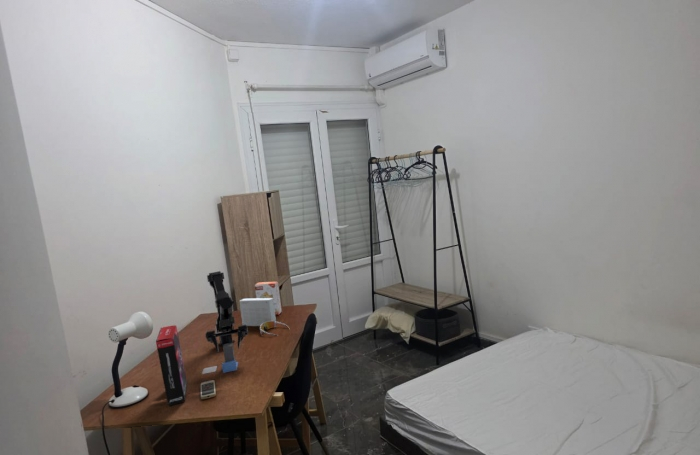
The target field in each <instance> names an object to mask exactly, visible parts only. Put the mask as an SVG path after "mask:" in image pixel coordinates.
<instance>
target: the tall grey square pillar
mask: <svg viewBox="0 0 700 455" xmlns="http://www.w3.org/2000/svg"><path fill="white" fill-rule="evenodd" d="M233 343H234V342H233ZM233 343H228V344H224V345H222V349H223V350H222V351H223V357H224V362H230V361H235V360H236V358H235V351H234V350H235V349H234V344H233Z"/></svg>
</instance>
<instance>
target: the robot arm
mask: <svg viewBox="0 0 700 455" xmlns="http://www.w3.org/2000/svg"><path fill="white" fill-rule="evenodd" d="M206 279H207V282H208V283H209V286H210V287H211V288H212V290H213V294H214V299H215V300H214V304H215V308H216V310H217V318H216V320H215V322H216V324H215V330H214V329H212V330H208V331H206V332H205V339H206V341H207V342H209V343H211V344H213V345H214V348H215V350H216V352H217V353H219V350H220V349H219V346H223V345H224V344H228V343H234V342H236V341H235V339H233V334H234V335H235V334H237V349H240V347H241V345H242V341H243V339H244V338H245V337H246V336H248V335H249V329H248V326H247V325H238V327H237V328H234V325H235V324H236V321H235V320H236V319H235V316H233V308H234V307H233V305H234V304H235V301H234V299H232V297H230V294H229V292H227V291H226V289H225V286H224V280H225V275H224V272H222V271H221V270H219V271H214V272H209V273H208V274H207V275H206ZM218 337H219V343H218V340H217V338H218Z"/></svg>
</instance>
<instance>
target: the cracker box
mask: <svg viewBox="0 0 700 455" xmlns="http://www.w3.org/2000/svg"><path fill="white" fill-rule="evenodd" d="M279 289H280V288H279V282H278V281H263V282H262V281H261V282H257V283H255V284H254V290H255V298H273V301H274V309H275V316H277V315H280V314H281V313H282V304H281V296H280V295H281V294H280V290H279Z"/></svg>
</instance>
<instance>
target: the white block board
mask: <svg viewBox="0 0 700 455" xmlns="http://www.w3.org/2000/svg"><path fill="white" fill-rule="evenodd" d="M238 364H239V361H237V360H236V359H235V361H230V362H225V361H224V362H222V363H221V368H222V373H223V374H224V373H229V372H233V371H237V370H238ZM217 368H218V366H217V365H214V366H210V367H205V368H203V370H202V372H201V375H204V374H210V373H214V372H216V371H217Z"/></svg>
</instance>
